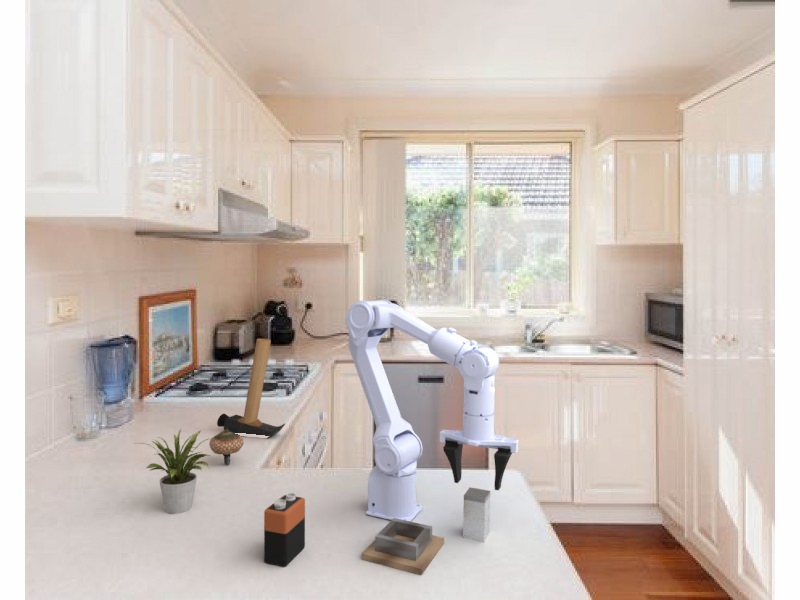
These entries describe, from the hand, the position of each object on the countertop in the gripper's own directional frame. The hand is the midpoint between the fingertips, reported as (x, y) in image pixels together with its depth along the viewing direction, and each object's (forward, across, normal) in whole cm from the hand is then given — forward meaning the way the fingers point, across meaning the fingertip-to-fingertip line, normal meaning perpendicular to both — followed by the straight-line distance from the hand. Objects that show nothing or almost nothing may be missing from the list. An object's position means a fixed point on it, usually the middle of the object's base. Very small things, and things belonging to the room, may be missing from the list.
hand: (477, 484), depth 95 cm
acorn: (+10, -67, +7) cm, 68 cm away
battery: (+10, -28, -21) cm, 36 cm away
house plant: (+10, -59, -17) cm, 62 cm away
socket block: (+10, -10, -11) cm, 18 cm away
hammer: (+10, -79, +30) cm, 85 cm away
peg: (+10, 0, 0) cm, 10 cm away
